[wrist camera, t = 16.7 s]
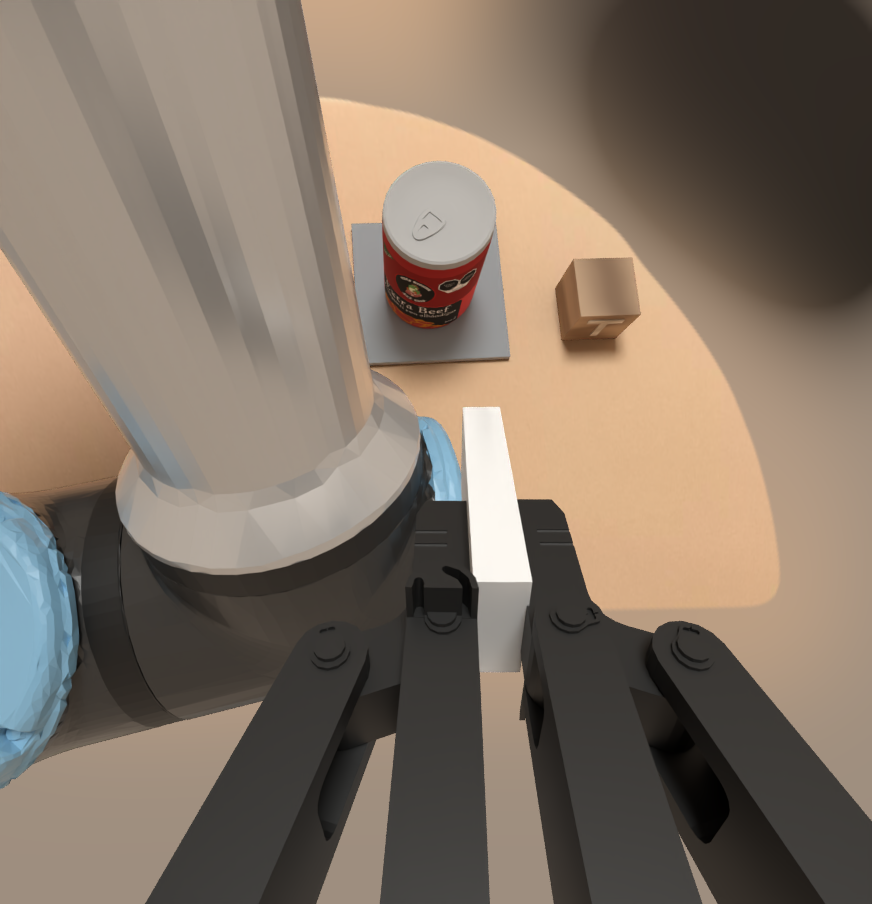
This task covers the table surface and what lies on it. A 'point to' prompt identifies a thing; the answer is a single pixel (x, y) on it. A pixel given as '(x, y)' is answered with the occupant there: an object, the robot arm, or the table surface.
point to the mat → (402, 343)
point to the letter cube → (597, 298)
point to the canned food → (435, 241)
